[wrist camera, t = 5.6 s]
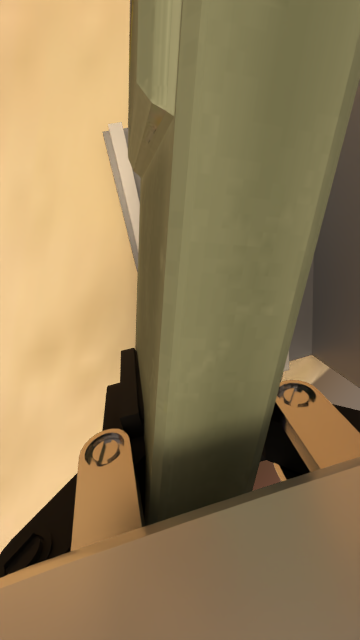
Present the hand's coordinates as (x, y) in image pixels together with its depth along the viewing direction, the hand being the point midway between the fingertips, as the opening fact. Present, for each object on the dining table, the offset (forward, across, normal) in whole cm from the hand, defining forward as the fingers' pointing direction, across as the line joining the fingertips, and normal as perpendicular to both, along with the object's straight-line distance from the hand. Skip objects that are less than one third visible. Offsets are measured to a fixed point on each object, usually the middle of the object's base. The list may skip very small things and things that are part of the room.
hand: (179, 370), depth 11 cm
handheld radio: (+1, +1, 0) cm, 1 cm away
